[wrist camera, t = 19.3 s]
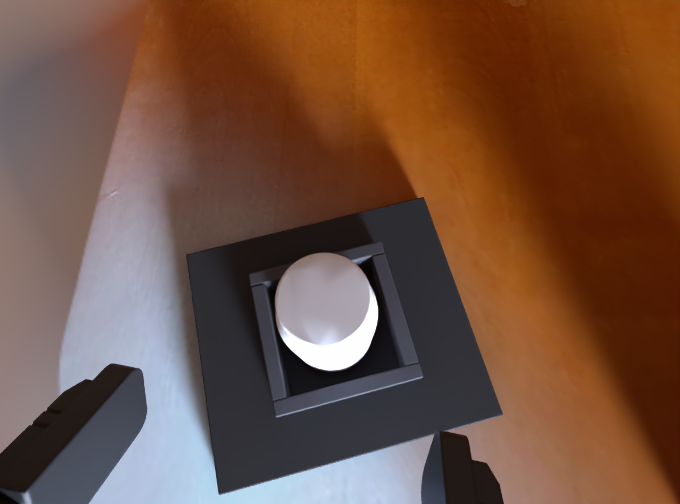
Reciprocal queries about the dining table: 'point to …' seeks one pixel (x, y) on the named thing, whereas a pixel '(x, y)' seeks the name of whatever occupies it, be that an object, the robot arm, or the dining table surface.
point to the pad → (344, 386)
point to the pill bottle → (326, 311)
